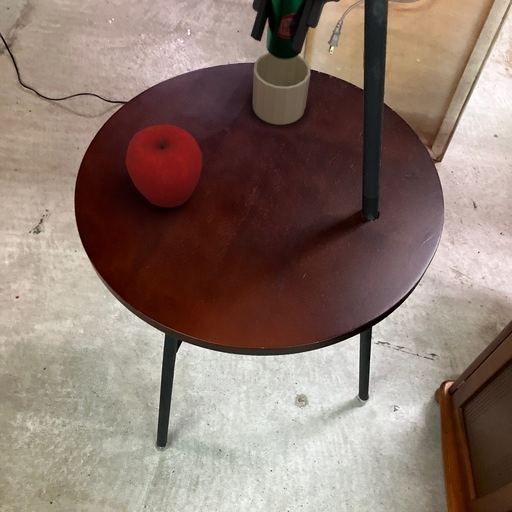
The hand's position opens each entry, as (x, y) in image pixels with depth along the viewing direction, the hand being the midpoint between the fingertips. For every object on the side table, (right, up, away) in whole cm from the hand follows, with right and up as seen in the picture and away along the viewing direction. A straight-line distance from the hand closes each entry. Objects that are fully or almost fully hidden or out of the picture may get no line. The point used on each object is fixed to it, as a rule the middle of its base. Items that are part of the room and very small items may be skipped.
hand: (275, 44), depth 73 cm
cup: (+1, -5, +13) cm, 14 cm away
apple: (-15, -19, +3) cm, 25 cm away
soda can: (+1, +1, +5) cm, 5 cm away
